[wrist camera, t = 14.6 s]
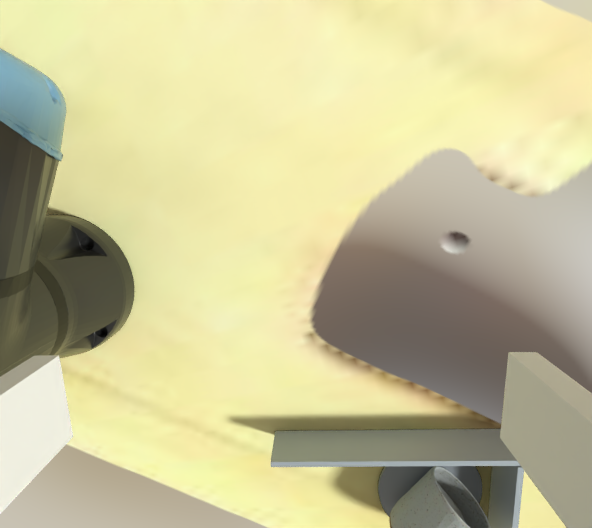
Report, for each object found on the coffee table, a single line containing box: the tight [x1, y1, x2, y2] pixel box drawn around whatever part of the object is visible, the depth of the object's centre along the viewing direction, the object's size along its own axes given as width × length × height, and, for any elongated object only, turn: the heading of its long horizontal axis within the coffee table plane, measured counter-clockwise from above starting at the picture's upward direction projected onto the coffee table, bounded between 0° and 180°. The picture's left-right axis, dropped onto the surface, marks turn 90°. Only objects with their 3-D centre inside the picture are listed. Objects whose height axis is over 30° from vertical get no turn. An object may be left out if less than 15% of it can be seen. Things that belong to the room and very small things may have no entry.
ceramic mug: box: [390, 466, 490, 528], centre depth 40 cm, size 11×8×8 cm
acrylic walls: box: [271, 429, 524, 528], centre depth 42 cm, size 26×15×5 cm, turn 92°
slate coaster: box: [378, 466, 482, 517], centre depth 44 cm, size 12×12×1 cm
